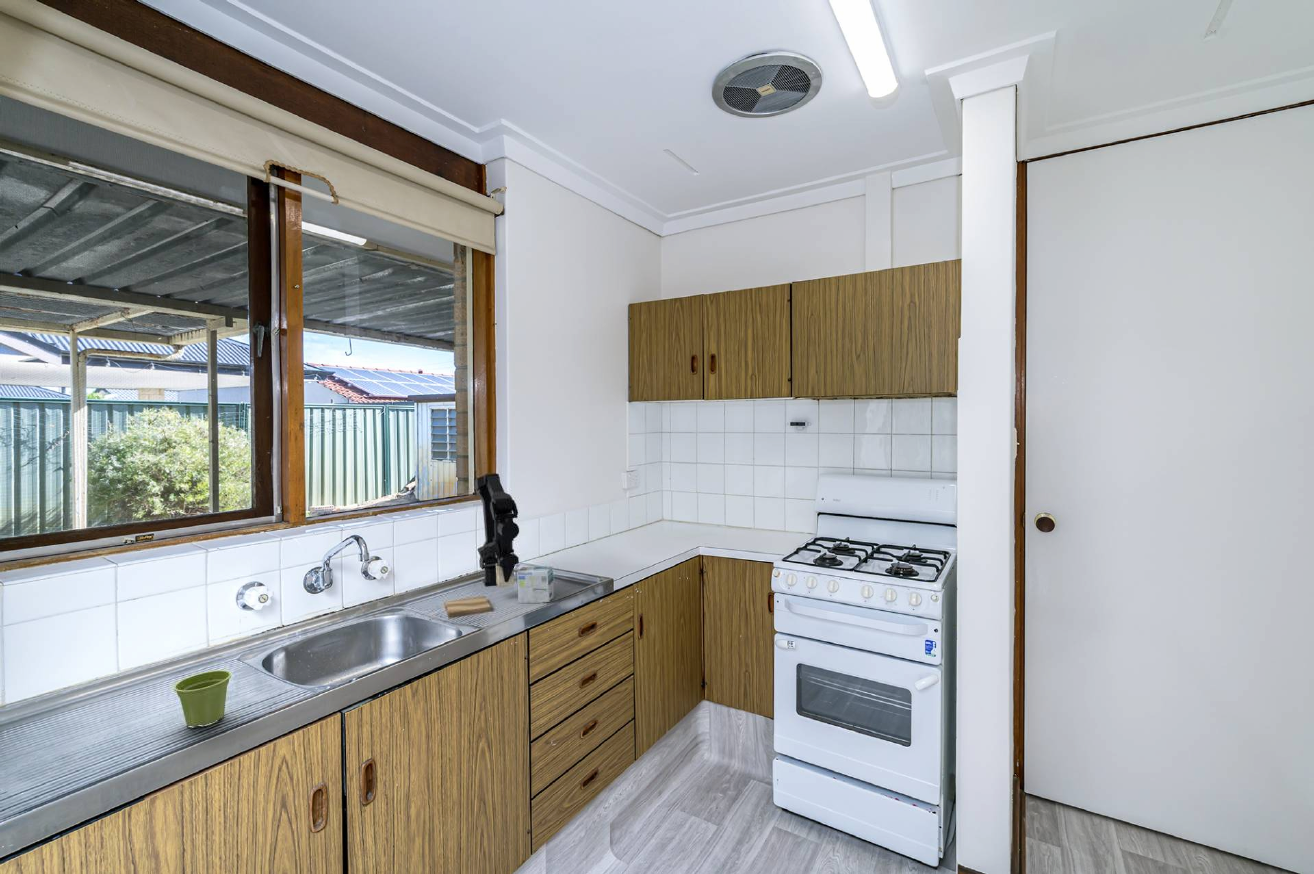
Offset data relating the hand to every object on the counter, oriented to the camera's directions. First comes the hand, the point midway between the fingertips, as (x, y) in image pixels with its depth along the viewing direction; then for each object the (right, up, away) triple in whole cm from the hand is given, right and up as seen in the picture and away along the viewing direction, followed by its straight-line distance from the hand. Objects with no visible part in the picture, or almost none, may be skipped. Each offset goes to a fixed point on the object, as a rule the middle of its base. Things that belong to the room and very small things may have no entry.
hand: (505, 580), depth 199 cm
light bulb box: (+11, -6, -3) cm, 13 cm away
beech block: (0, -2, 0) cm, 2 cm away
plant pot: (-41, -10, -79) cm, 89 cm away
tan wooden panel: (-9, -7, -10) cm, 16 cm away
